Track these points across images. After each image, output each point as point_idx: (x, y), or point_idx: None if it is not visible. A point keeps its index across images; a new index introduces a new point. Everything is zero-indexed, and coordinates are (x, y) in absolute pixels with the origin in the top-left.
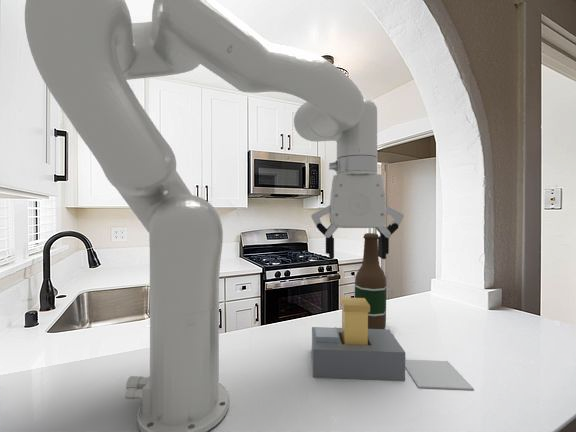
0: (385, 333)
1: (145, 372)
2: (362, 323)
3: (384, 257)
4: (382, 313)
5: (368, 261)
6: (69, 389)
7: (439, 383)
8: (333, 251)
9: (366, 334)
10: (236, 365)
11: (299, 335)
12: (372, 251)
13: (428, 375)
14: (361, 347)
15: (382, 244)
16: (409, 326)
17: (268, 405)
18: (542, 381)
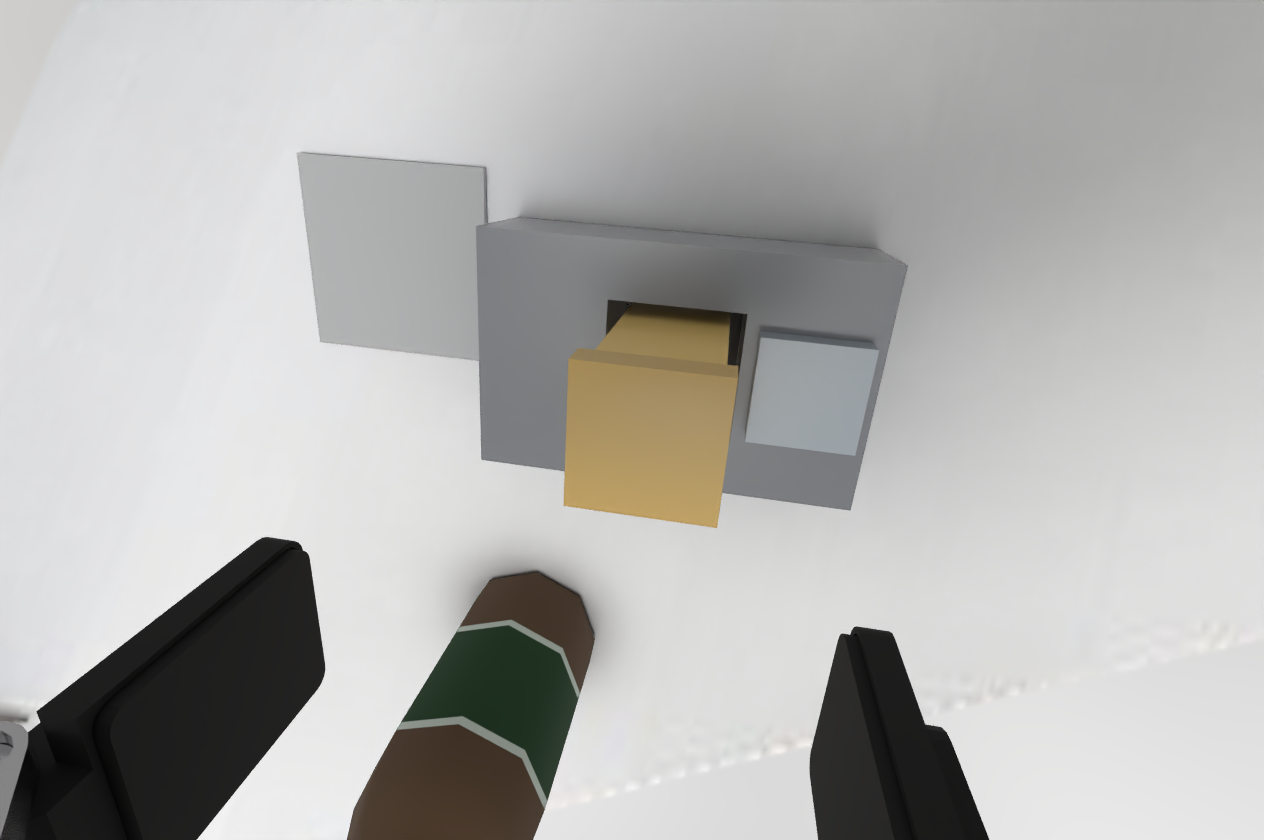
0: (509, 419)
1: None
2: (631, 343)
3: (274, 540)
4: (462, 631)
5: None
6: None
7: (401, 186)
8: (863, 692)
9: (619, 327)
10: (1219, 354)
11: (858, 592)
12: None
13: (422, 241)
14: (661, 279)
15: (176, 652)
16: (372, 621)
17: (1123, 40)
18: (66, 209)
